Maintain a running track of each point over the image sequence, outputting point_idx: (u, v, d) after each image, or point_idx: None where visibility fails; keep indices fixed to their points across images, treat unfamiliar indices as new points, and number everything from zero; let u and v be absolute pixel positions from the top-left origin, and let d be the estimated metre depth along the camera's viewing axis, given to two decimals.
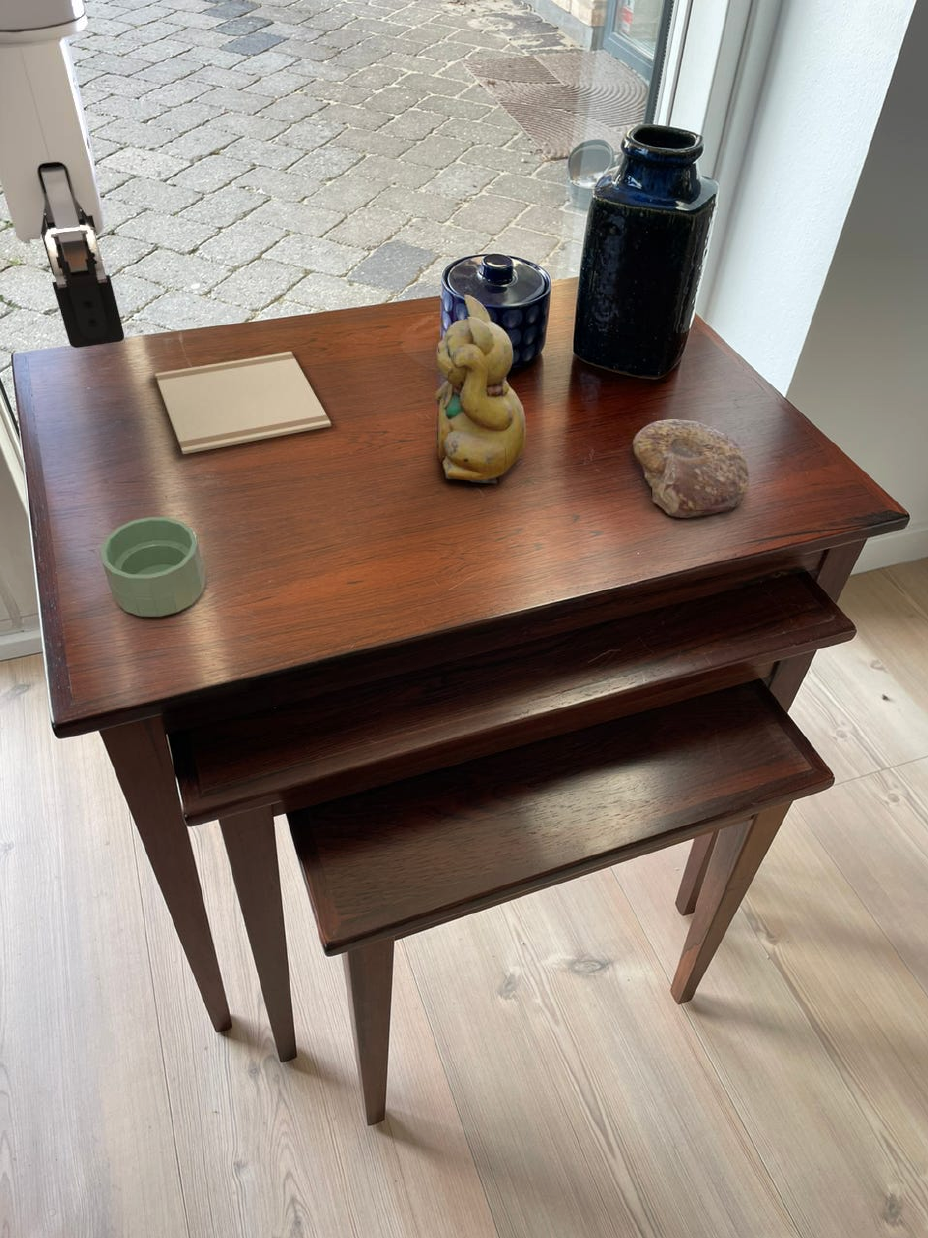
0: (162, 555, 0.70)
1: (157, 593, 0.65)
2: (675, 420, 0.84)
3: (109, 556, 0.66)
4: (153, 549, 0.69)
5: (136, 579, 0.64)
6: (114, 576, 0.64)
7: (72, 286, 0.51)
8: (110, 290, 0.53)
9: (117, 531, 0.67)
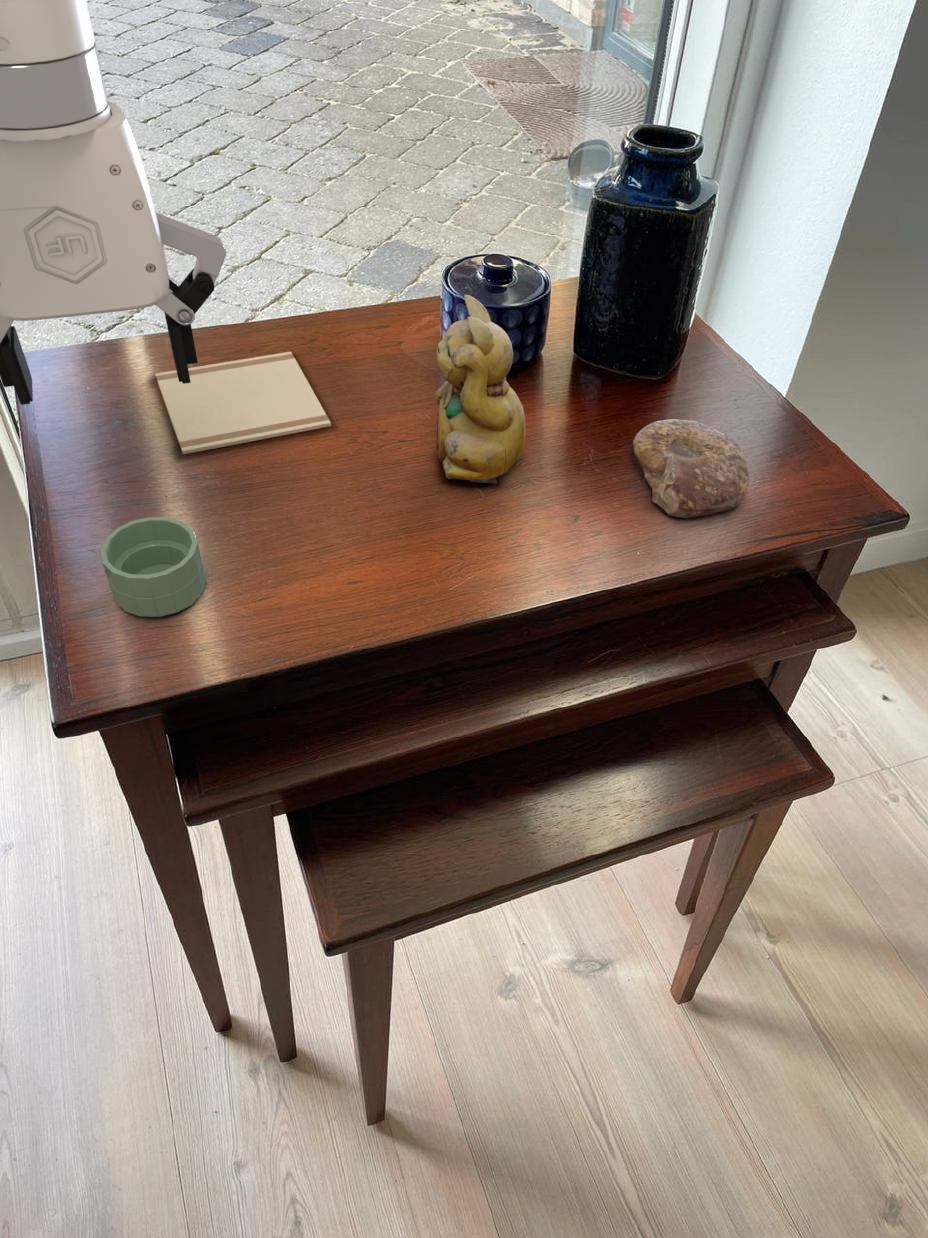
0: (162, 555, 0.70)
1: (157, 593, 0.65)
2: (675, 420, 0.84)
3: (109, 556, 0.66)
4: (153, 549, 0.69)
5: (136, 579, 0.64)
6: (114, 576, 0.64)
7: None
8: None
9: (117, 531, 0.67)
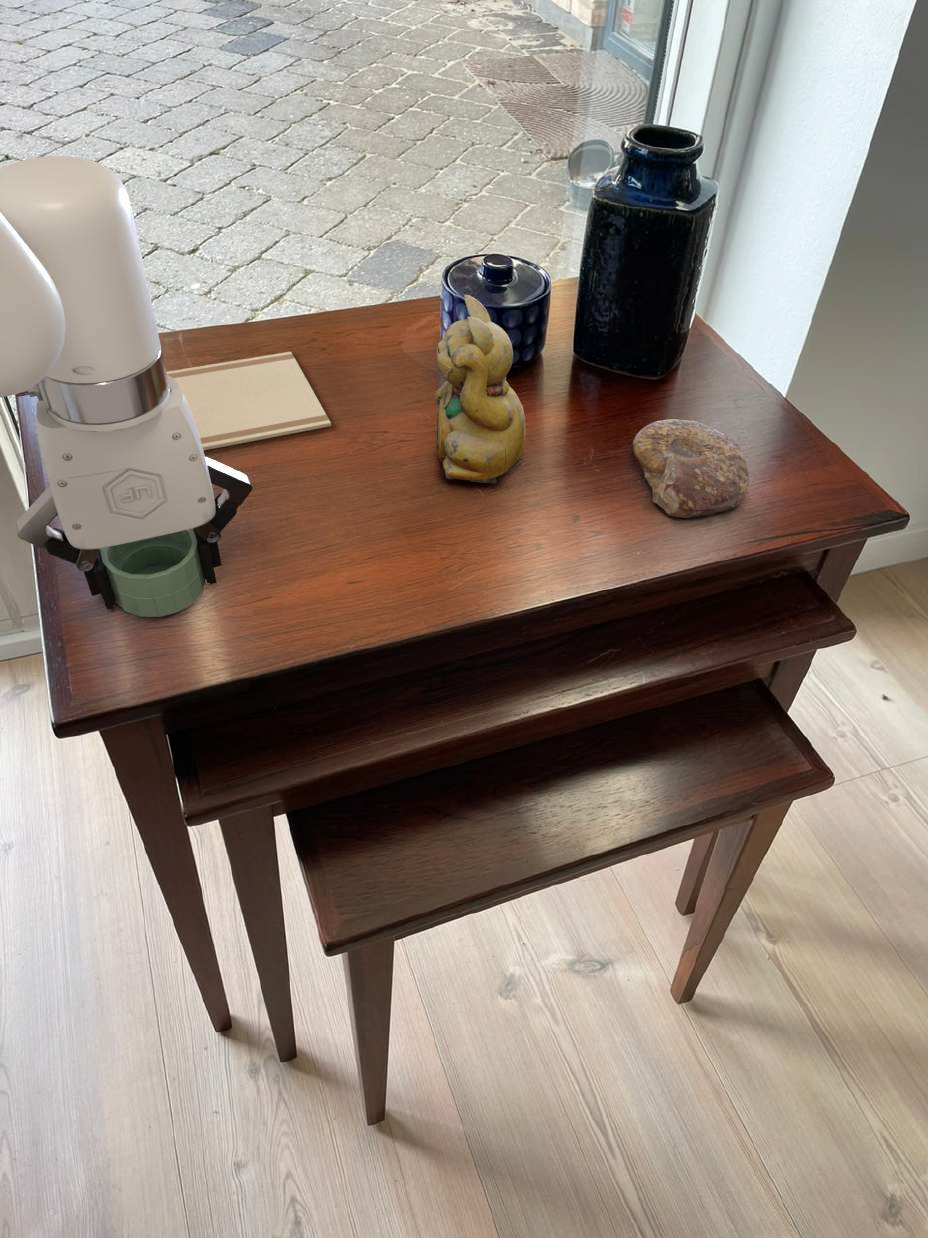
0: (162, 555, 0.70)
1: (157, 593, 0.65)
2: (675, 420, 0.84)
3: (109, 556, 0.66)
4: (153, 549, 0.69)
5: (136, 579, 0.64)
6: (114, 576, 0.64)
7: None
8: None
9: None
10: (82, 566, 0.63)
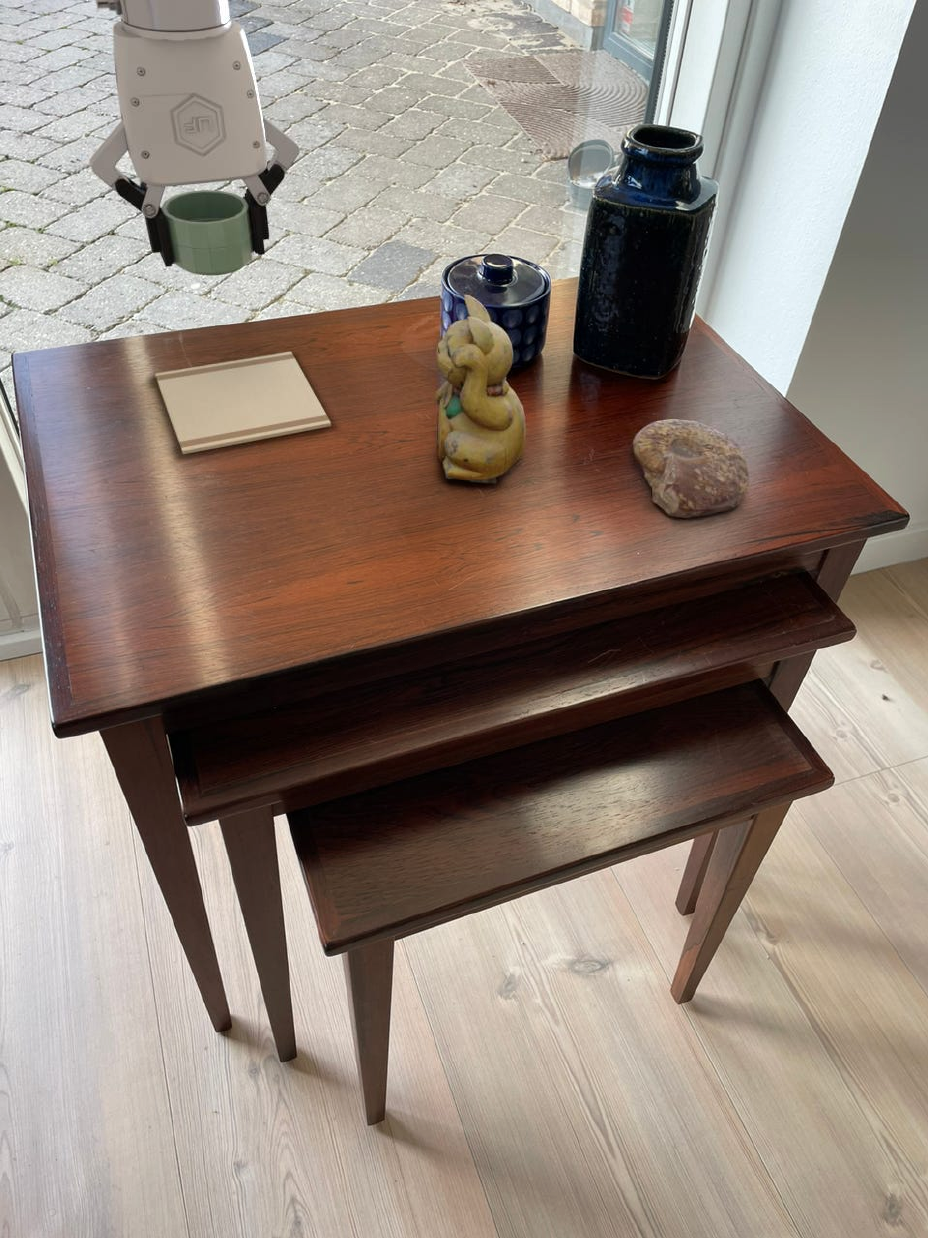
0: None
1: (213, 244, 0.72)
2: (675, 420, 0.84)
3: None
4: None
5: (195, 225, 0.70)
6: (175, 224, 0.71)
7: None
8: None
9: (175, 197, 0.74)
10: (146, 212, 0.70)
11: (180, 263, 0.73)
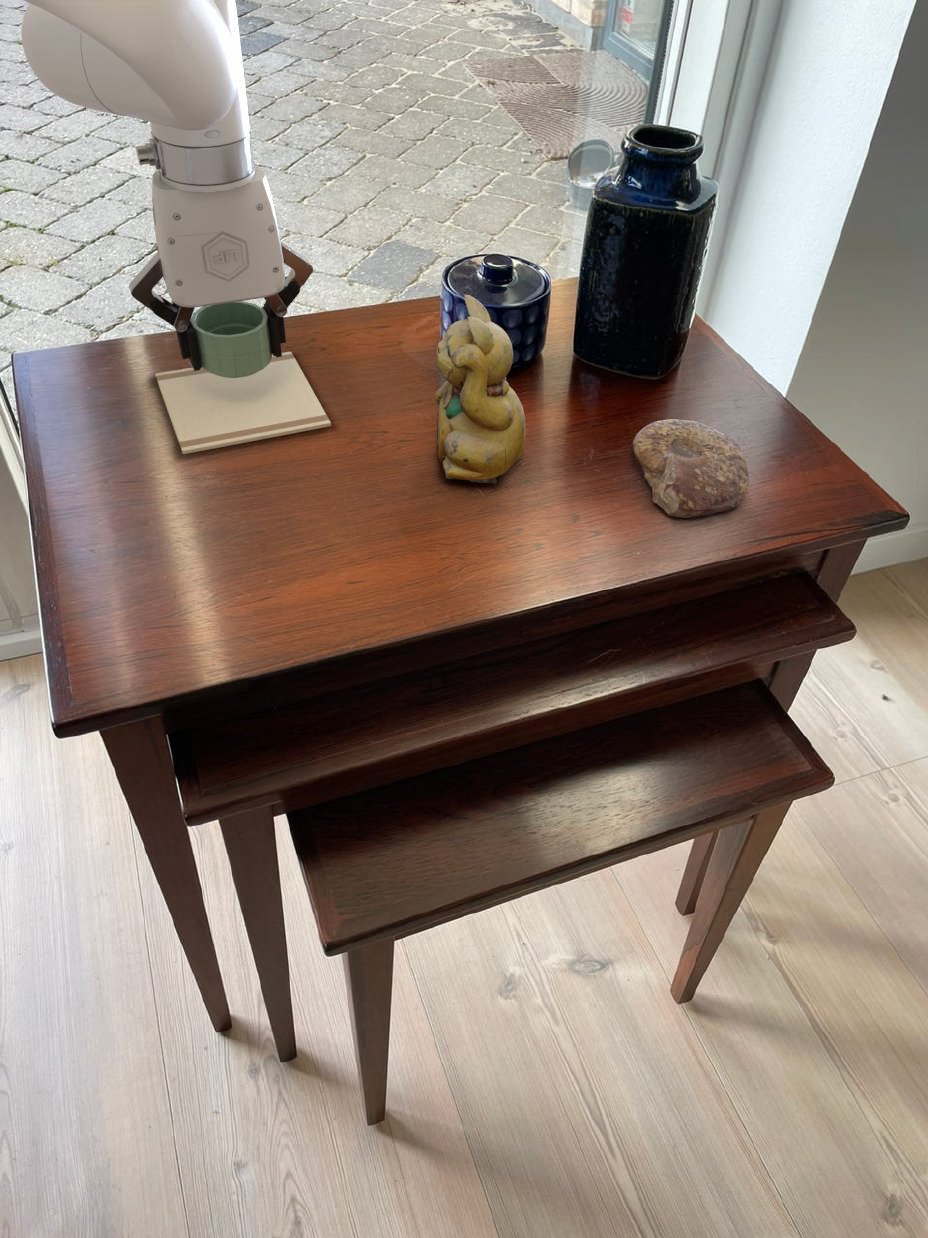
0: None
1: (237, 353, 0.81)
2: (675, 420, 0.84)
3: None
4: (230, 329, 0.85)
5: (221, 338, 0.80)
6: (203, 337, 0.80)
7: None
8: None
9: (202, 308, 0.83)
10: (178, 327, 0.79)
11: (207, 368, 0.82)
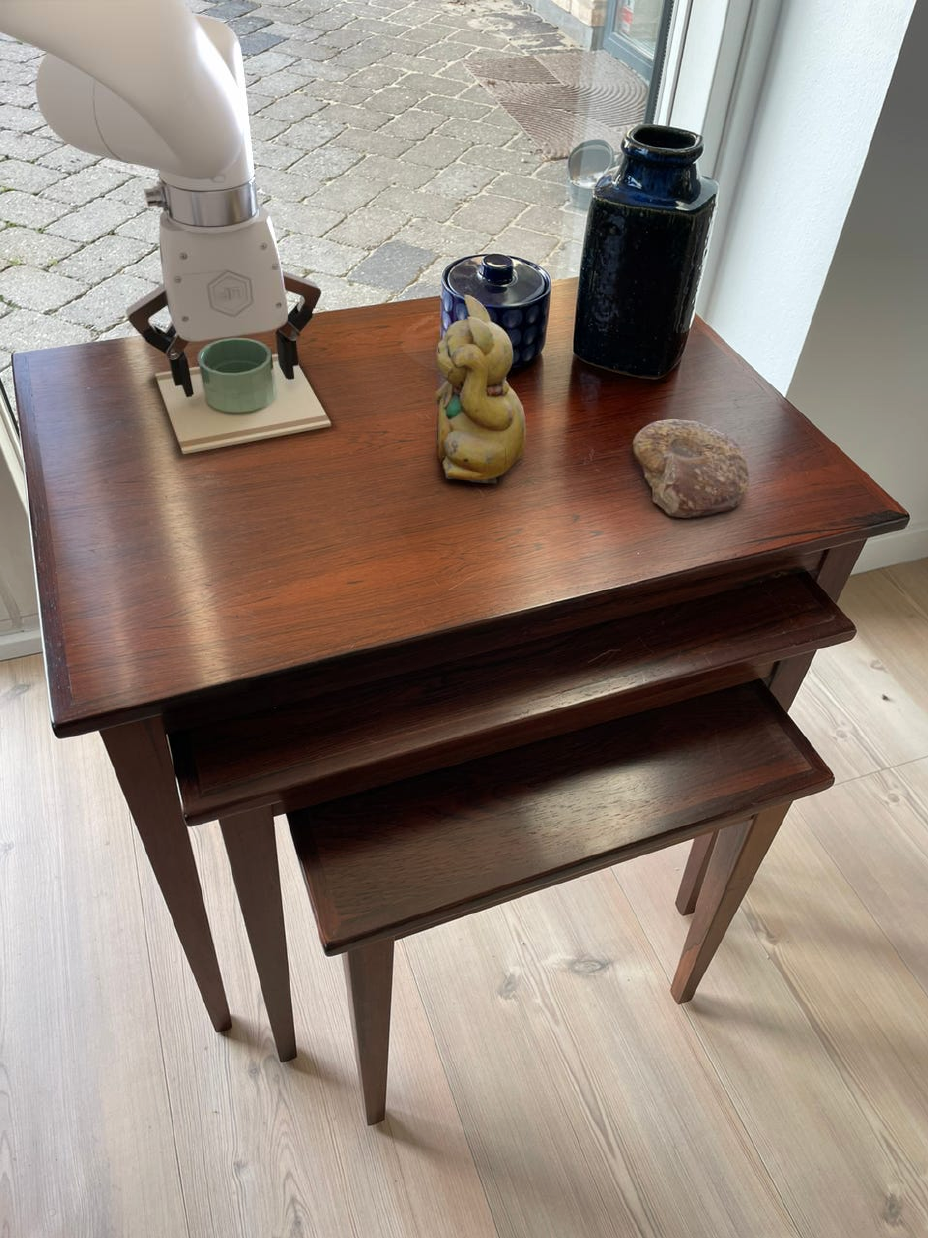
0: (241, 371, 0.88)
1: (242, 390, 0.83)
2: (675, 420, 0.84)
3: None
4: (234, 365, 0.88)
5: (227, 376, 0.82)
6: (209, 374, 0.83)
7: None
8: None
9: (208, 346, 0.85)
10: (170, 355, 0.81)
11: (213, 404, 0.85)
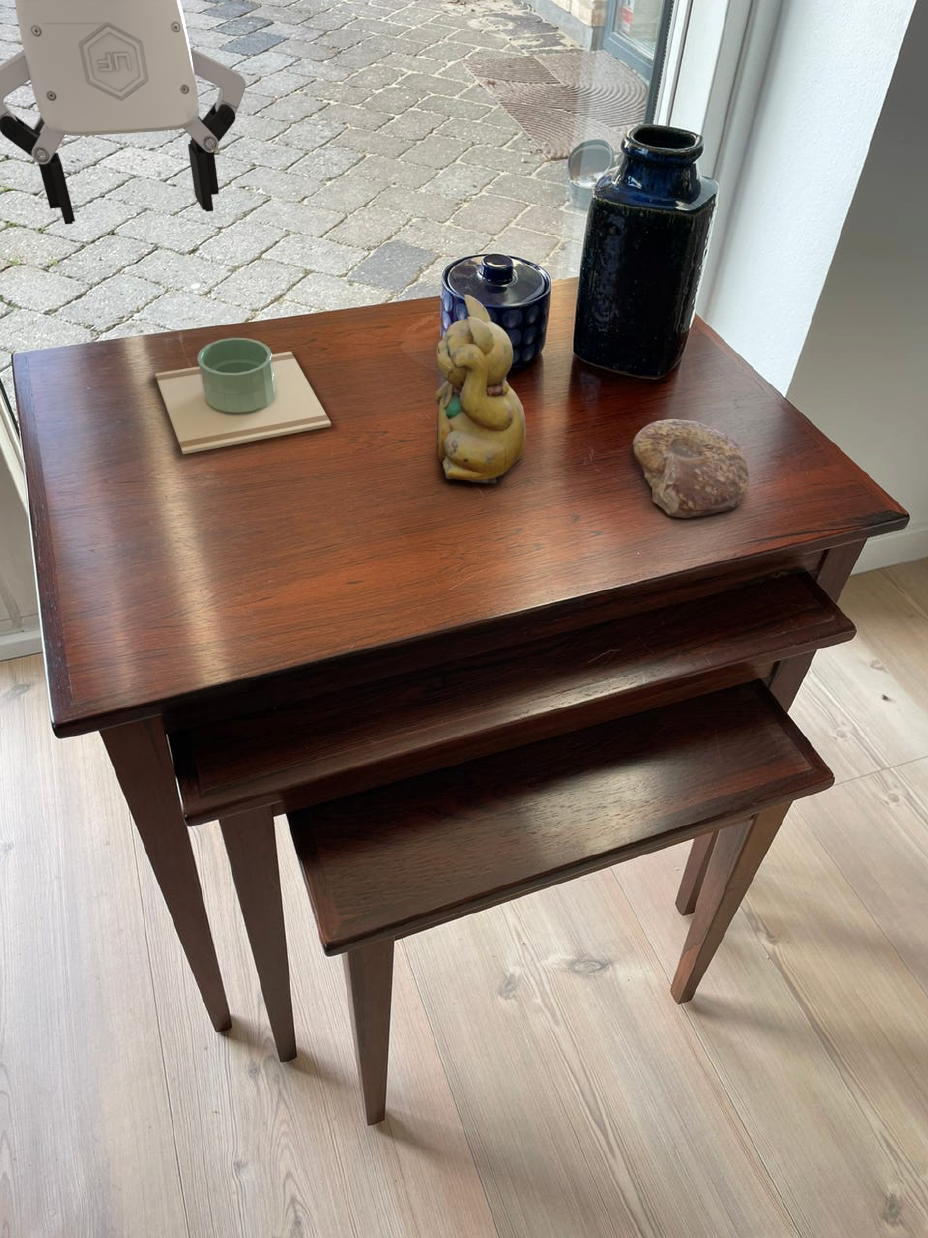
0: (241, 371, 0.88)
1: (242, 390, 0.83)
2: (675, 420, 0.84)
3: None
4: (234, 365, 0.88)
5: (227, 376, 0.82)
6: (209, 374, 0.83)
7: None
8: None
9: (208, 346, 0.85)
10: (38, 157, 0.59)
11: (213, 404, 0.85)
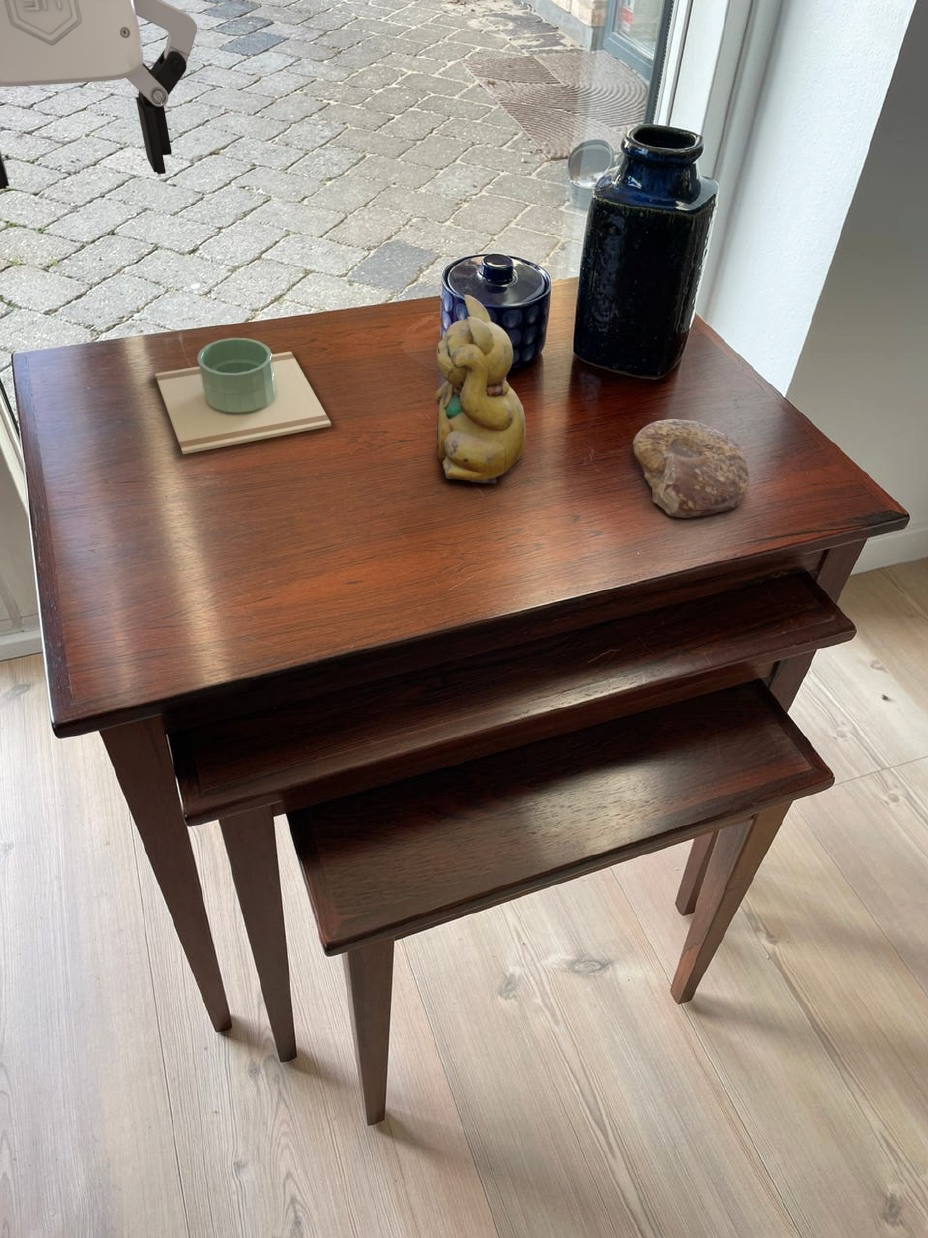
0: (241, 371, 0.88)
1: (242, 390, 0.83)
2: (675, 420, 0.84)
3: None
4: (234, 365, 0.88)
5: (227, 376, 0.82)
6: (209, 374, 0.83)
7: None
8: None
9: (208, 346, 0.85)
10: None
11: (213, 404, 0.85)
